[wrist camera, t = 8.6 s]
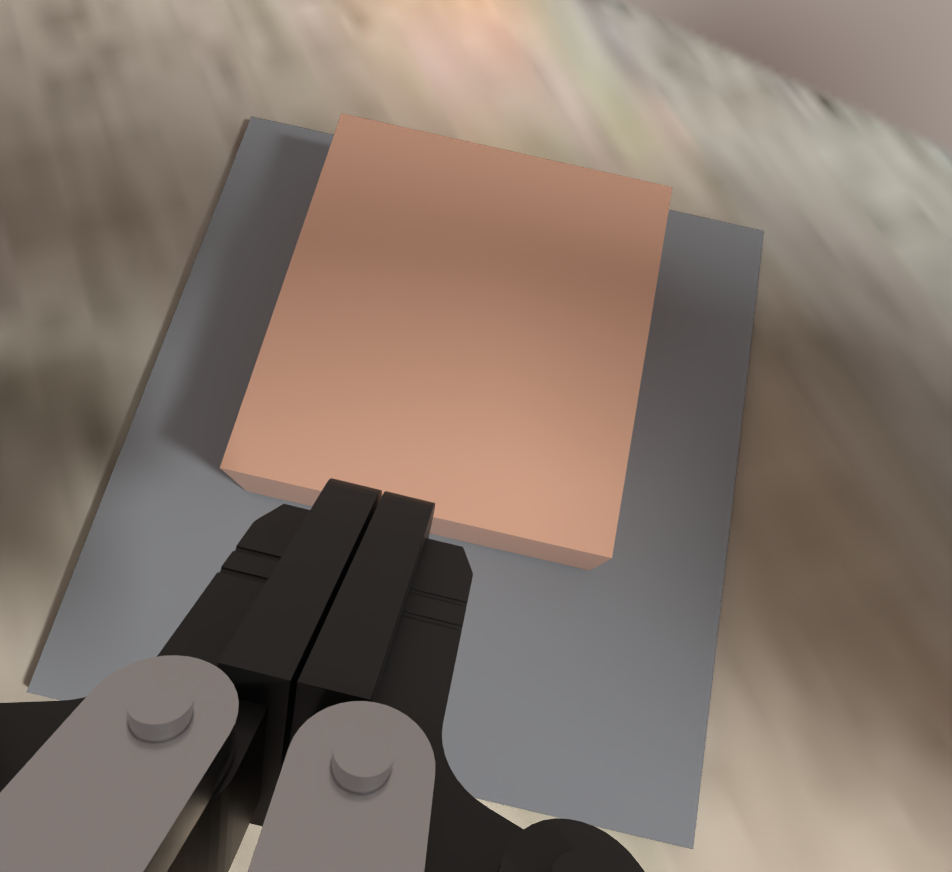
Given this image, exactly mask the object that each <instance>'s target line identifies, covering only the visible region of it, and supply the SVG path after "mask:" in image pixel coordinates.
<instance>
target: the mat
mask: <svg viewBox="0 0 952 872" xmlns="http://www.w3.org/2000/svg"><path fill="white" fill-rule="evenodd" d="M333 137H334V135H333V134H328V133H324V132H319V131H315V130H310V129H306V128H301V127H297V126H292V125H288V124H283V123H279V122H274V121H270V120H265V119H261V118H256V117H252V116H251V119H250V121H249V124H248V126H247V129H246V131H245V134H244V136H243V139H242V142H241V144H240V147H239V149H238V152H237V154H236V157H235V160H234V162H233V165H232V167H231V170H230V172H229V175H228V177H227V180H226V183H225V185H224V188H223V190H222V193H221V195H220V198H219V201H218V203H217V206H216V208H215V211H214V213H213V216H212V218H211V221H210V224H209V226H208V229H207V231H206V234H205V236H204V239H203V241H202V244H201V247H200V249H199V252H198V254H197V257H196V259H195V262H194V265H193V267H192V270H191V272H190V275H189V277H188V280H187V282H186V285H185V288H184V290H183V293H182V295H181V298H180V300H179V303H178V306H177V308H176V311H175V313H174V316H173V318H172V321H171V323H170V326H169V329H168V331H167V334H166V336H165V339H164V341H163V344H162V347H161V349H160V352H159V354H158V357H157V359H156V362H155V364H154V367H153V370H152V372H151V375H150V377H149V380H148V382H147V385H146V388H145V390H144V393H143V395H142V398H141V400H140V403H139V405H138V408H137V411H136V413H135V416H134V418H133V421H132V423H131V426H130V429H129V431H128V434H127V436H126V439H125V441H124V444H123V446H122V449H121V452H120V454H119V457H118V459H117V462H116V464H115V467H114V469H113V472H112V475H111V477H110V480H109V482H108V485H107V487H106V490H105V493H104V495H103V498H102V500H101V503H100V505H99V508H98V510H97V513H96V516H95V518H94V521H93V523H92V526H91V528H90V531H89V534H88V536H87V539H86V541H85V544H84V546H83V549H82V551H81V554H80V557H79V559H78V562H77V564H76V567H75V569H74V572H73V575H72V577H71V580H70V582H69V585H68V587H67V590H66V592H65V595H64V598H63V600H62V603H61V605H60V608H59V610H58V613H57V616H56V618H55V621H54V623H53V626H52V628H51V631H50V633H49V636H48V639H47V641H46V644H45V646H44V649H43V651H42V654H41V656H40V659H39V662H38V664H37V667H36V669H35V672H34V674H33V677H32V680H31V682H30V685H29V687H28V690H27V692H28V693H32V694H37V695H41V696H45V697H49V698H54V699H58V700H62V701H63V700H73V699H78V698H83V697H87V696H88V695H89V693H90V692H91V691H92V690H93V689H94V688H95V687H96V686H97V685H98V684H99V683H100V682H101V681H102V680H104V679H105V678H107V677H108V676H109V675H111V674H112V673H114V672H115V671H117V670H119V669H121V668H123V667H125V666H127V665H129V664H132V663H134V662H137V661H140V660H144V659H148V658H152V657H157V655H158V654H159V653H160V651H161V650H162V649H163V647H164V646H165V644H166V643H167V642H168V640H169V639H170V637H171V636H172V635H173V633H174V632H175V631H176V629H177V628H178V626H179V625H180V624H181V622H182V621H183V619H184V618H185V617H186V615H187V614H188V612H189V611H190V610H191V608H192V607H193V605H194V604H195V603H196V601H197V600H198V599H199V597H200V596H201V594H202V593H203V592H204V590H205V589H206V587H207V586H208V585H209V583H210V582H211V580H212V579H213V578H214V576H215V575H216V573H217V572H220V570H221V566H222V565H223V564H224V562H225V561H226V560H227V558H228V557H229V555H230V554H231V553H232V551H235V549H236V546H237V544H238V543H239V541H240V540H241V539H242V537H243V536H244V534H245V533H246V532H247V530H248V529H249V527H250V526H251V525H252V523H253V522H254V521H255V520H257V519H259V518H260V517H262V516H264V515H265V514H267V513H269V512H270V511H272V510H274V509H276V508H277V507H279V506H281V505H282V504H287V505H292V506H296V507H300V508H304V509H308V510H310V509H311V508H312V506H308V505H304V504H300V503H295V502H291V501H287V500H282V499H278V498H274V497H269V496H265V495H261V494H256V493H252V492H248V491H246V490H245V489H244V488H242V487H241V486H240V485H239V484H238V483H237V482H236V481H234V480H233V479H232V478H231V477H230V476H229V475H227V474H226V473H225V472H224V471H223V470H222V469H221V468H220V466H221V463H222V460H223V457H224V454H225V451H226V448H227V445H228V442H229V439H230V436H231V434H232V431H233V428H234V425H235V422H236V419H237V416H238V413H239V410H240V407H241V404H242V402H243V399H244V396H245V393H246V390H247V387H248V384H249V381H250V378H251V375H252V372H253V370H254V367H255V364H256V361H257V358H258V355H259V352H260V349H261V346H262V343H263V340H264V337H265V335H266V332H267V329H268V326H269V323H270V320H271V317H272V314H273V311H274V308H275V305H276V303H277V300H278V297H279V294H280V291H281V288H282V285H283V282H284V279H285V276H286V273H287V271H288V268H289V265H290V262H291V259H292V256H293V253H294V250H295V247H296V244H297V241H298V239H299V236H300V233H301V230H302V227H303V224H304V221H305V218H306V215H307V212H308V209H309V207H310V204H311V201H312V198H313V195H314V192H315V189H316V186H317V183H318V180H319V177H320V174H321V172H322V169H323V166H324V163H325V160H326V157H327V154H328V151H329V148H330V145H331V142H332V140H333ZM763 234H764V231H762V230H757V229H753V228H748V227H744V226H740V225H735V224H731V223H726V222H722V221H717V220H713V219H708V218H704V217H699V216H695V215H690V214H686V213H681V212H677V211H672V210H669V211H668V218H667V224H666V230H665V236H664V242H663V248H662V254H661V261H660V267H659V273H658V279H657V285H656V291H655V297H654V303H653V310H652V316H651V322H650V328H649V334H648V340H647V346H646V352H645V359H644V365H643V371H642V377H641V383H640V389H639V395H638V401H637V408H636V414H635V420H634V426H633V432H632V438H631V444H630V450H629V457H628V463H627V469H626V475H625V481H624V487H623V493H622V500H621V506H620V512H619V518H618V524H617V530H616V536H615V542H614V549H613V555H612V558H611V559H610V560H608V561H606V562H604V563H602V564H601V565H599V566H597V567H595V568H593V569H592V570H585V569H581V568H577V567H572V566H568V565H564V564H559V563H555V562H551V561H546V560H542V559H538V558H533V557H529V556H525V555H520V554H516V553H512V552H507V551H503V550H499V549H494V548H490V547H486V546H481V545H477V544H473V543H468V542H464V541H460V540H455V539H451V538H447V537H442V536H438V535H434V534H429V539H433V540H437V541H441V542H445V543H449V544H453V545H457V546H461V547H463V548H464V551H465V553H466V556H467V559H468V561H469V564H470V567H471V570H472V572H473V578H472V583H471V587H470V592H469V597H468V602H467V607H466V612H465V617H464V622H463V627H462V632H461V637H460V642H459V647H458V652H457V657H456V662H455V667H454V672H453V677H452V682H451V687H450V692H449V696H448V701H447V706H446V711H445V716H444V721H443V729H442V742H443V748H444V752H445V757H446V759H447V761H448V764H449V766H450V768H451V770H452V772H453V773H454V775H455V777H456V778H457V780H458V781H459V782H460V783H461V785H462V786H463V787H464V788H465V789H466V790H467V791H468V792H469V793H470V794H471V795H472V796H473V797H474V798H478V799H482V800H486V801H490V802H495V803H499V804H503V805H507V806H511V807H516V808H520V809H524V810H528V811H533V812H537V813H541V814H545V815H550V816H554V817H558V818H562V819H571V820H576V821H581V822H584V823H587V824H589V825H592V826H596V827H601V828H605V829H609V830H613V831H617V832H622V833H626V834H630V835H634V836H639V837H643V838H647V839H651V840H656V841H660V842H664V843H668V844H673V845H677V846H681V847H685V848H690V849H693V846H694V837H695V828H696V820H697V811H698V802H699V793H700V785H701V776H702V767H703V758H704V750H705V741H706V732H707V723H708V715H709V706H710V697H711V688H712V680H713V671H714V662H715V654H716V645H717V636H718V627H719V619H720V610H721V601H722V592H723V584H724V575H725V566H726V557H727V549H728V540H729V531H730V522H731V514H732V505H733V496H734V487H735V479H736V470H737V461H738V452H739V444H740V435H741V426H742V417H743V409H744V400H745V391H746V383H747V374H748V365H749V356H750V348H751V339H752V330H753V321H754V313H755V304H756V295H757V286H758V278H759V269H760V260H761V251H762V243H763Z"/></svg>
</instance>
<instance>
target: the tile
mask: <svg viewBox="0 0 952 872" xmlns="http://www.w3.org/2000/svg"><path fill="white" fill-rule="evenodd" d="M671 193H672V187H669V186H664V185H660V184H655V183H651V182H647V181H642V180H638V179H633V178H629V177H624V176H620V175H615V174H611V173H606V172H602V171H597V170H593V169H588V168H584V167H579V166H575V165H570V164H566V163H561V162H557V161H552V160H548V159H543V158H539V157H534V156H530V155H526V154H521V153H517V152H512V151H508V150H503V149H499V148H494V147H490V146H485V145H481V144H476V143H472V142H467V141H463V140H458V139H454V138H449V137H445V136H440V135H436V134H431V133H427V132H422V131H418V130H413V129H409V128H405V127H400V126H396V125H391V124H387V123H382V122H378V121H373V120H369V119H364V118H360V117H355V116H351V115H346V114H342V113H341V116H340V119H339V122H338V125H337V128H336V131H335V134H334V137H333V140H332V142H331V145H330V148H329V151H328V154H327V157H326V160H325V163H324V166H323V169H322V172H321V174H320V177H319V180H318V183H317V186H316V189H315V192H314V195H313V198H312V201H311V204H310V207H309V209H308V212H307V215H306V218H305V221H304V224H303V227H302V230H301V233H300V236H299V239H298V241H297V244H296V247H295V250H294V253H293V256H292V259H291V262H290V265H289V268H288V271H287V273H286V276H285V279H284V282H283V285H282V288H281V291H280V294H279V297H278V300H277V303H276V305H275V308H274V311H273V314H272V317H271V320H270V323H269V326H268V329H267V332H266V335H265V337H264V340H263V343H262V346H261V349H260V352H259V355H258V358H257V361H256V364H255V367H254V370H253V372H252V375H251V378H250V381H249V384H248V387H247V390H246V393H245V396H244V399H243V402H242V404H241V407H240V410H239V413H238V416H237V419H236V422H235V425H234V428H233V431H232V434H231V436H230V439H229V442H228V445H227V448H226V451H225V454H224V457H223V460H222V463H221V466H220V468H221V469H222V470H223V471H224V472H225V473H226V474H227V475H229V476H230V477H231V478H232V479H233V480H234V481H236V482H237V483H238V484H239V485H240V486H241V487H242V488H244V489H245V490H246V491H248V492H252V493H256V494H261V495H265V496H269V497H274V498H278V499H282V500H287V501H291V502H295V503H300V504H304V505H308V506H313V504H314V503H315V501H316V499H317V498H318V496H319V494H320V493H321V491H322V490H323V488H324V486H325V485H326V483H327V482H328V480H329V479H331V478H333V479H337V480H341V481H346V482H350V483H354V484H358V485H362V486H366V487H370V488H374V489H379V490H382V495H383V493H384V492H385V491H388V492H392V493H396V494H400V495H404V496H408V497H413V498H417V499H421V500H425V501H429V502H433V503H435V510H434V515H433V520H432V525H431V530H430V534H434V535H438V536H442V537H447V538H451V539H455V540H460V541H464V542H468V543H473V544H477V545H481V546H486V547H490V548H494V549H499V550H503V551H507V552H512V553H516V554H520V555H525V556H529V557H533V558H538V559H542V560H546V561H551V562H555V563H559V564H564V565H568V566H572V567H577V568H581V569H585V570H592V569H593V568H595V567H597V566H599V565H601V564H602V563H604V562H606V561H608V560H610V559H611V558H612V555H613V549H614V542H615V536H616V530H617V524H618V518H619V512H620V506H621V500H622V493H623V487H624V481H625V475H626V469H627V463H628V457H629V450H630V444H631V438H632V432H633V426H634V420H635V414H636V408H637V401H638V395H639V389H640V383H641V377H642V371H643V365H644V359H645V352H646V346H647V340H648V334H649V328H650V322H651V316H652V310H653V303H654V297H655V291H656V285H657V279H658V273H659V267H660V261H661V254H662V248H663V242H664V236H665V230H666V224H667V218H668V211H669V205H670V199H671Z"/></svg>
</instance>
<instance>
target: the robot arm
mask: <svg viewBox="0 0 952 872" xmlns="http://www.w3.org/2000/svg"><path fill="white" fill-rule="evenodd" d="M434 510H435V503H433V502H429V501H425V500H421V499H417V498H413V497H408V496H404V495H400V494H396V493H392V492H388V491H385V492H384V493H383V495H382V490H379V489H374V488H370V487H366V486H362V485H358V484H354V483H350V482H346V481H341V480H337V479H333V478H331V479H329V480H328V482H327V483H326V485H325V486H324V488H323V490H322V491H321V493H320V494H319V496H318V498H317V499H316V501H315V503H314V504H313V506H312V508H311V509H310V510H308V509H304V508H300V507H296V506H292V505H287V504H282V505H281V506H279V507H277V508H276V509H274V510H272V511H270V512H269V513H267V514H265V515H264V516H262V517H260V518H259V519H257V520H255V521H254V522H253V523H252V525H251V526H250V527H249V529H248V530H247V532H246V533H245V534H244V536H243V537H242V539H241V540H240V541H239V543H238V544H237V546H236V549H235V551H232V553H231V554H230V555H229V557H228V558H227V560H226V561H225V562H224V564H223V565H222V566H221V570H220V572H217V573H216V575H215V576H214V578H213V579H212V580H211V582H210V583H209V585H208V586H207V587H206V589H205V590H204V592H203V593H202V594H201V596H200V597H199V599H198V600H197V601H196V603H195V604H194V605H193V607H192V608H191V610H190V611H189V612H188V614H187V615H186V617H185V618H184V619H183V621H182V622H181V624H180V625H179V626H178V628H177V629H176V631H175V632H174V633H173V635H172V636H171V637H170V639H169V640H168V642H167V643H166V644H165V646H164V647H163V649H162V650H161V651H160V653H159V654H158V655H157V657H152V658H148V659H144V660H140V661H137V662H134V663H132V664H129V665H127V666H125V667H123V668H121V669H119V670H117V671H115V672H114V673H112V674H111V675H109V676H108V677H107V678H105V679H104V680H102V681H101V682H100V683H99V684H98V685H97V686H96V687H95V688H94V689H93V690H92V691H91V692H90V693H89V695H88V696H87V697H83V698H78V699H73V700H63V701H45V702H17V703H0V872H228V871H229V869H230V867H231V864H232V862H233V860H234V858H235V855H236V853H237V851H238V848H239V846H240V844H241V841H242V839H243V837H244V834H245V832H246V830H247V828H248V825H249V823H251V824H255V825H259V826H263V827H262V830H261V833H260V836H259V839H258V842H257V845H256V848H255V851H254V854H253V857H252V860H251V863H250V866H249V869H248V872H644V870H643V869H642V867H641V866H640V865H639V863H638V862H637V861H636V860H635V858H634V857H633V856H632V855H631V854H630V852H629V851H628V850H627V849H626V848H624V847H623V846H622V845H621V844H620V843H619V842H618V841H617V840H615V839H614V838H613V837H611V836H610V835H609V834H607V833H606V832H604V831H602V830H600V829H598V828H596V827H594V826H592V825H589V824H587V823H584V822H581V821H576V820H571V819H549V820H543V821H540V822H538V823H535V824H532V825H531V826H529V827H527V828H526V829H524V830H523V829H522V828H520V827H519V826H517V825H515V824H514V823H512V822H510V821H509V820H507V819H505V818H504V817H502V816H501V815H499V814H497V813H496V812H494V811H492V810H491V809H489V808H488V807H486V806H485V805H483V804H482V803H481V802H479V801H478V800H476V799H475V798H474V797H473V796H472V795H471V794H470V793H469V792H468V791H467V790H466V789H465V788H464V787H463V786H462V785H461V783H460V782H459V781H458V780H457V778H456V777H455V775H454V773H453V772H452V770H451V768H450V766H449V764H448V761H447V759H446V757H445V752H444V748H443V742H442V729H443V721H444V716H445V711H446V706H447V701H448V696H449V692H450V687H451V682H452V677H453V672H454V667H455V662H456V657H457V652H458V647H459V642H460V637H461V632H462V627H463V622H464V617H465V612H466V607H467V602H468V597H469V592H470V587H471V583H472V578H473V572H472V570H471V567H470V564H469V561H468V559H467V556H466V553H465V551H464V548H463V547H461V546H457V545H453V544H449V543H445V542H441V541H437V540H433V539H429V534H430V530H431V525H432V520H433V515H434Z"/></svg>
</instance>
